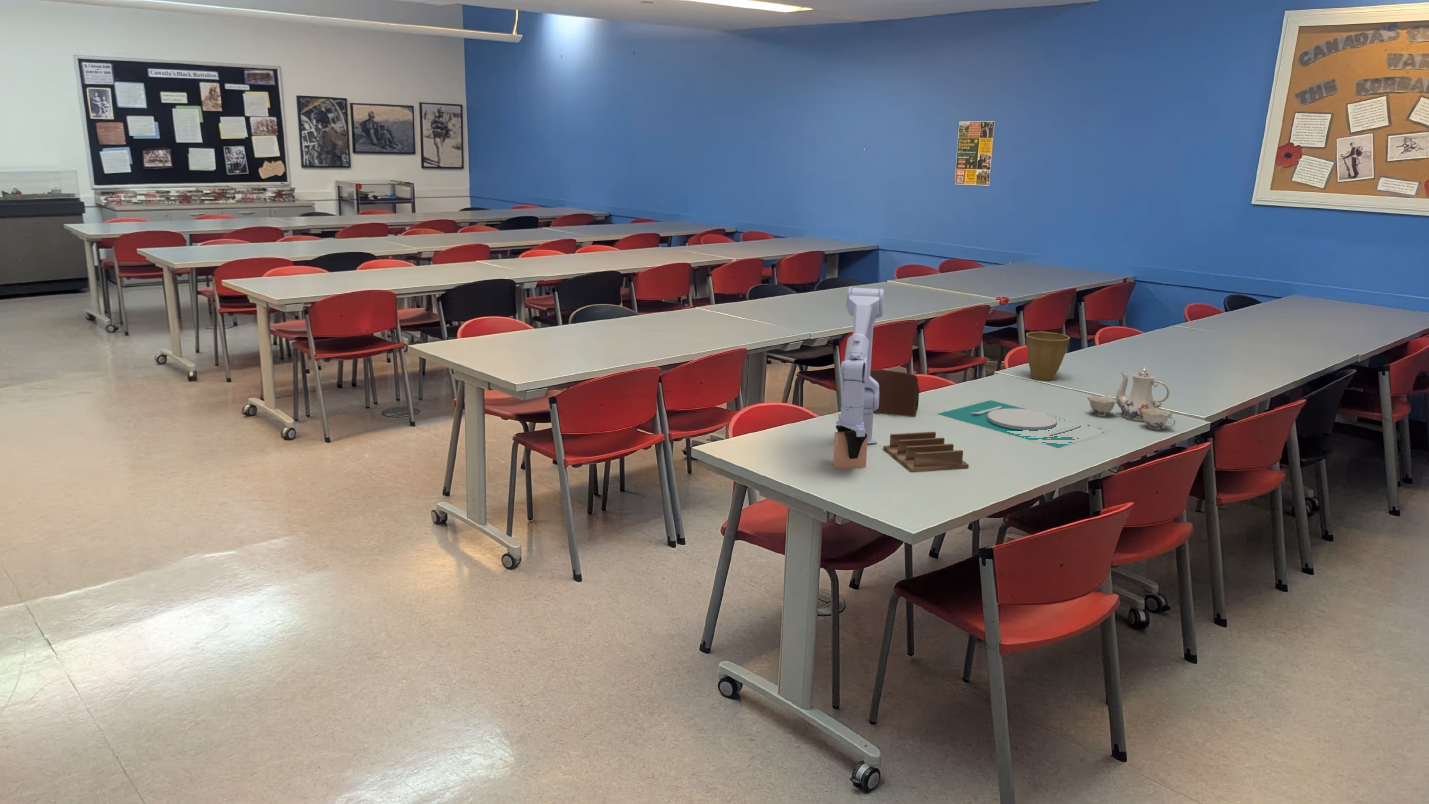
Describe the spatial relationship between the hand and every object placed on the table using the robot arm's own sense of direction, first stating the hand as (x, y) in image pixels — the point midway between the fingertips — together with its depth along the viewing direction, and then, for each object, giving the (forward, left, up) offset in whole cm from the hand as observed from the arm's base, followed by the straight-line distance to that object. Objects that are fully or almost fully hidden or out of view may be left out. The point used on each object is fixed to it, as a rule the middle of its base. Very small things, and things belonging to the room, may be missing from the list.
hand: (850, 455), depth 239 cm
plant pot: (-79, +103, -3) cm, 130 cm away
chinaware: (-26, +102, -3) cm, 105 cm away
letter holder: (-49, +30, -3) cm, 58 cm away
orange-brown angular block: (0, 0, -3) cm, 3 cm away
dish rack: (-2, +22, -3) cm, 22 cm away
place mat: (-29, +66, -4) cm, 72 cm away
